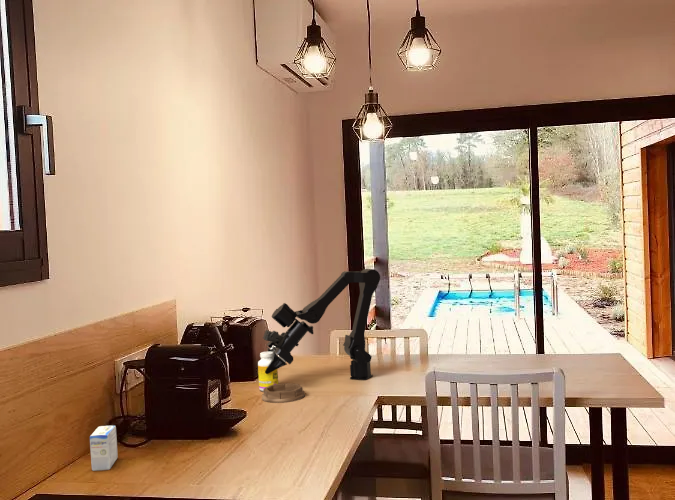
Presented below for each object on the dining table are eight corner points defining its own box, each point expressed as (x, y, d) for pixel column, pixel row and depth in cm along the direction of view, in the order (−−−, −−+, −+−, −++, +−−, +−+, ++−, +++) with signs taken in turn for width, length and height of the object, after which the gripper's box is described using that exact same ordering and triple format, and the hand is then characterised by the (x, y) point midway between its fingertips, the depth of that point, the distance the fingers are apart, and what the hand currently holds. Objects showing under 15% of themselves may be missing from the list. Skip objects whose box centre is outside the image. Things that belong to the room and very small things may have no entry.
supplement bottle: (275, 392, 229) (273, 354, 228) (256, 392, 230) (254, 354, 229) (281, 387, 235) (278, 350, 235) (262, 387, 237) (260, 350, 236)
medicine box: (100, 460, 170) (97, 426, 170) (118, 458, 170) (115, 424, 170) (91, 471, 162) (88, 435, 162) (110, 469, 163) (107, 434, 162)
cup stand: (312, 392, 225) (311, 383, 225) (291, 404, 212) (291, 394, 212) (275, 390, 231) (275, 381, 231) (253, 401, 218) (253, 392, 218)
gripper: (270, 318, 242) (242, 352, 239) (281, 324, 224) (250, 361, 221) (293, 337, 244) (265, 371, 242) (306, 345, 226) (275, 382, 224)
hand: (263, 371), depth 232 cm, fingers closed on supplement bottle, 6 cm apart
